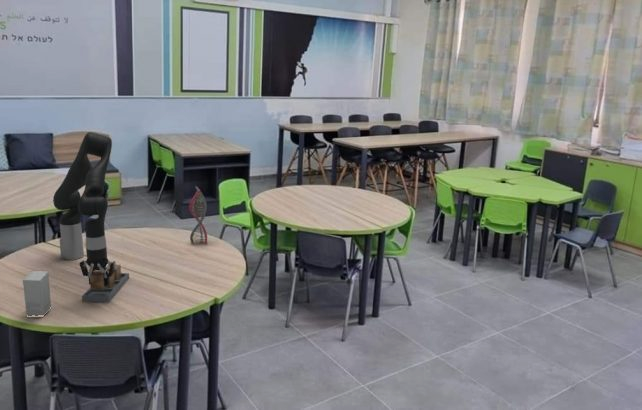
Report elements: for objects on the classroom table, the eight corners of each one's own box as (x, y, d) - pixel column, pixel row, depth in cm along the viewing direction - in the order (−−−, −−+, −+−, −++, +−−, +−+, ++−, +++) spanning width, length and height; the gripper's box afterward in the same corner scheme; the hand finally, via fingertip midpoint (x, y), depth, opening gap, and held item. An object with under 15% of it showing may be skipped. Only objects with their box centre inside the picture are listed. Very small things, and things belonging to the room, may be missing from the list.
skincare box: (35, 308, 213) (31, 270, 208) (53, 308, 213) (49, 270, 209) (25, 318, 204) (21, 279, 200) (44, 318, 205) (40, 279, 201)
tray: (82, 301, 219) (81, 285, 217) (105, 277, 243) (104, 262, 241) (109, 302, 219) (107, 286, 218) (129, 278, 243) (128, 263, 241)
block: (90, 289, 220) (89, 275, 218) (95, 284, 225) (94, 270, 223) (103, 290, 220) (102, 276, 218) (107, 284, 225) (106, 271, 223)
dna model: (203, 246, 284) (202, 190, 276) (187, 245, 286) (185, 189, 278) (210, 241, 293) (209, 186, 285) (194, 239, 294) (193, 185, 286)
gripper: (117, 243, 221) (120, 282, 226) (81, 242, 221) (85, 281, 226) (110, 249, 214) (113, 290, 219) (73, 248, 214) (77, 288, 218)
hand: (99, 285), depth 222 cm, fingers closed on block, 5 cm apart
